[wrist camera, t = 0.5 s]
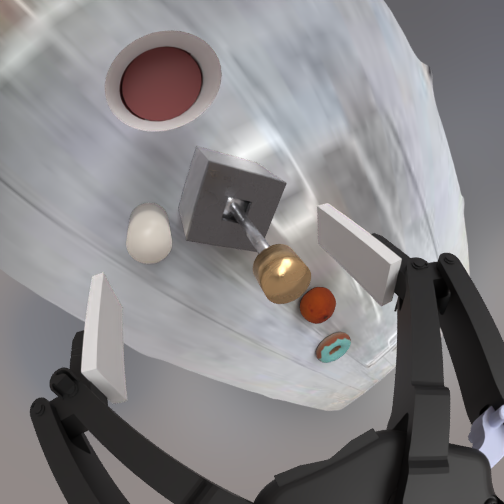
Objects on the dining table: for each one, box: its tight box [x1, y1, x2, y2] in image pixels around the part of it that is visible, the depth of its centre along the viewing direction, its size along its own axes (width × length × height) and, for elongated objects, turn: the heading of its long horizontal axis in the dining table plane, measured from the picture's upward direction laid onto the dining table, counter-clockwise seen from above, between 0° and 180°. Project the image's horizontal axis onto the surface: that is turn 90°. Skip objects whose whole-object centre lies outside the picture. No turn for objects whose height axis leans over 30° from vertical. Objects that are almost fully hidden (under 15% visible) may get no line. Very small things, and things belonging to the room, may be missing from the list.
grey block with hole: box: [178, 146, 286, 252], centre depth 43 cm, size 11×11×12 cm
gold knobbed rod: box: [222, 197, 311, 304], centre depth 32 cm, size 7×7×19 cm
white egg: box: [126, 203, 172, 264], centre depth 44 cm, size 7×7×8 cm
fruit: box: [300, 287, 336, 324], centre depth 66 cm, size 9×9×8 cm
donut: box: [316, 332, 351, 363], centre depth 83 cm, size 12×12×4 cm
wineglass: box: [105, 31, 222, 132], centre depth 28 cm, size 9×10×22 cm
